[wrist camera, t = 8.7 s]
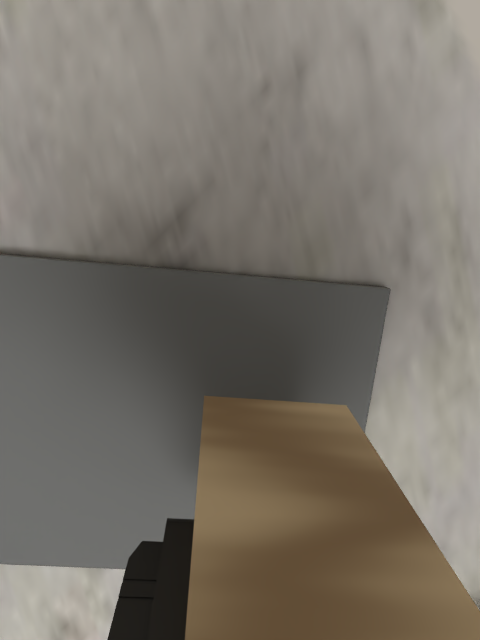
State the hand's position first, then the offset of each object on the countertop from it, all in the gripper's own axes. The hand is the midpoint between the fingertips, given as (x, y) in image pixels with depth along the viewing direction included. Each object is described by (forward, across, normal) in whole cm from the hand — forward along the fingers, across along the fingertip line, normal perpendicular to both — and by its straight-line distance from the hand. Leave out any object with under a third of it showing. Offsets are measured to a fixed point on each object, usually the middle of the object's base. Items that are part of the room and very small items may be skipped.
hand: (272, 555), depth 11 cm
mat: (+6, +4, 0) cm, 7 cm away
